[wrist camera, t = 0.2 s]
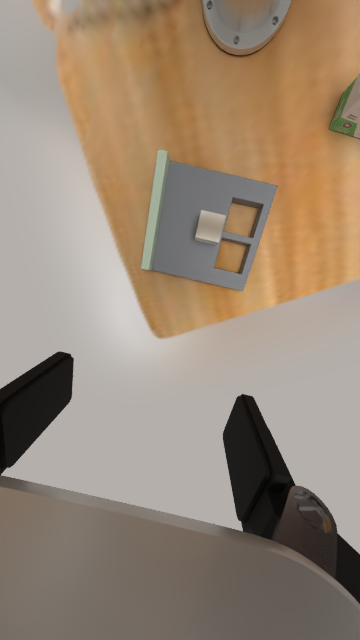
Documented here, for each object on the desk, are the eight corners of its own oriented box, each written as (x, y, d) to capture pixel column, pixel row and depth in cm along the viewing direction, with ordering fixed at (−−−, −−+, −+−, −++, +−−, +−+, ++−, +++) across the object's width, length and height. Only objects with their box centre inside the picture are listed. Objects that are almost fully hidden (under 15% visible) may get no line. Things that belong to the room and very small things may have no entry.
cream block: (200, 216, 32) (201, 209, 28) (222, 221, 32) (226, 215, 28) (194, 240, 33) (195, 237, 29) (215, 245, 33) (219, 242, 29)
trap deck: (159, 165, 32) (154, 148, 28) (271, 191, 32) (285, 178, 28) (144, 267, 38) (137, 267, 33) (239, 289, 38) (246, 293, 33)
